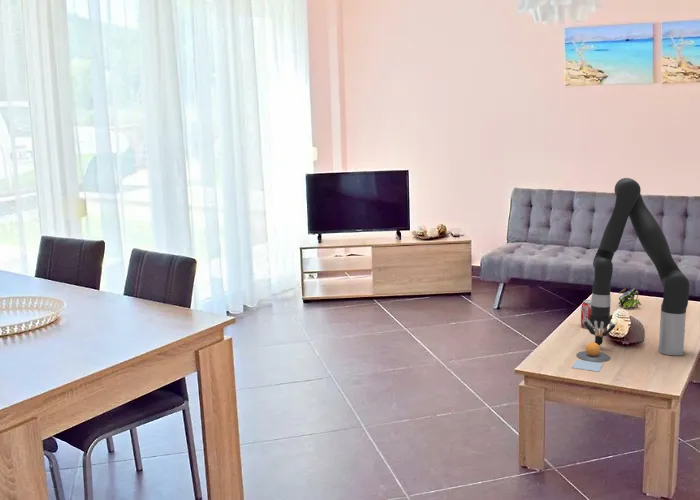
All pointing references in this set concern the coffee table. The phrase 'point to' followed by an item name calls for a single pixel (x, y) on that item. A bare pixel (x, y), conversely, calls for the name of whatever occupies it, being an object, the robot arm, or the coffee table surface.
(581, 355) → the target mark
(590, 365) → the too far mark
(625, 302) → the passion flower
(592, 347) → the ball
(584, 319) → the soda can
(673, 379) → the coffee table surface
